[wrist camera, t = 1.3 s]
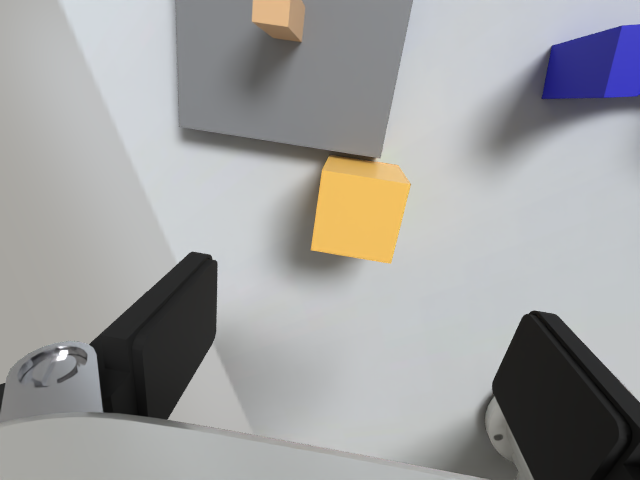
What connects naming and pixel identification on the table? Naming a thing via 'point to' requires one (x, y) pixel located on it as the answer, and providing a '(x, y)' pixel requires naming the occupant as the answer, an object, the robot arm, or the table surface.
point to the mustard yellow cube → (359, 208)
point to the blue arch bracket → (595, 66)
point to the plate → (291, 69)
